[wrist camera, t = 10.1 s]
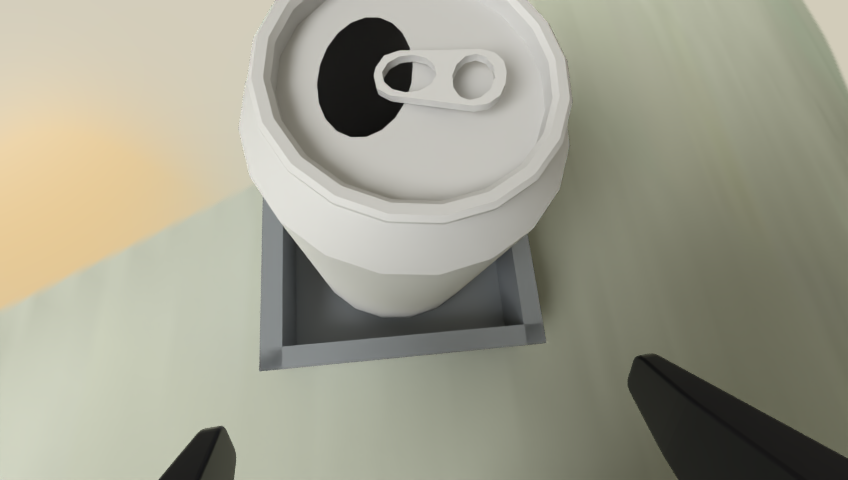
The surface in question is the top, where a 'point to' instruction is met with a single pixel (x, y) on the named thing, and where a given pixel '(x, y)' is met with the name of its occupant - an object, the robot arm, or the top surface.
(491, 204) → the can
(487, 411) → the top surface
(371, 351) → the tray
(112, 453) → the top surface
